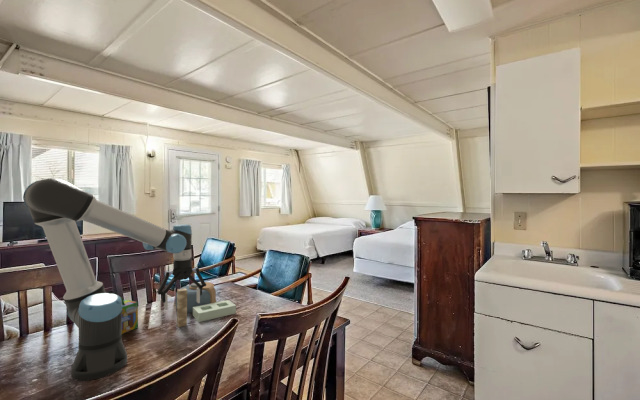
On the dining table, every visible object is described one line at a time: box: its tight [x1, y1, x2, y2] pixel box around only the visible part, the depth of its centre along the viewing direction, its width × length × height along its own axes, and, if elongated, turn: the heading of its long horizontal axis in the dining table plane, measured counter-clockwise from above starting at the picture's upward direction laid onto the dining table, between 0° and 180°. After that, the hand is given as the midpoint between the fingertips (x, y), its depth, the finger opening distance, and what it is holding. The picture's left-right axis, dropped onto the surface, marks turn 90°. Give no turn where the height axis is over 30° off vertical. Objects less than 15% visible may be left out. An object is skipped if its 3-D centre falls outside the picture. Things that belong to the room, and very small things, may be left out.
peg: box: [176, 288, 188, 328], centre depth 134 cm, size 3×3×16 cm
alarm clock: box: [175, 281, 218, 313], centre depth 158 cm, size 19×20×12 cm
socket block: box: [192, 299, 237, 323], centre depth 147 cm, size 18×10×4 cm, turn 128°
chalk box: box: [120, 296, 139, 335], centre depth 129 cm, size 9×9×15 cm
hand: (182, 305), depth 134 cm, fingers open, 13 cm apart
